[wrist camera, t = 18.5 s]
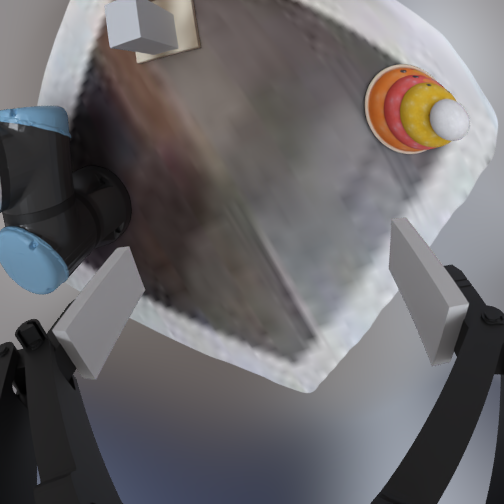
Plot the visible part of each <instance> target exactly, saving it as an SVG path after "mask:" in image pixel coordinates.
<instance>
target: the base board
mask: <svg viewBox="0 0 504 504" xmlns="http://www.w3.org/2000/svg"><path fill="white" fill-rule="evenodd" d="M148 1H150V2H152V3H154V4H156V5H158V6H159V7H161V8H163V9H165V10H166V11H168V12H170V13H172V14H173V15H174V22H175V28H176V35H177V41H178V47H179V48H178V49H174V50H171V51H167V52H163V53H160V54H156V55H151V54H146V53H140V52H136V58H137V63H145V62H148V61H151V60H155V59H158V58H162V57H166V56H169V55H173V54H177V53H181V52H185V51H189V50H194V49H198V48H201V46H200V39H199V33H198V27H197V21H196V15H195V9H194V2H193V0H148Z"/></svg>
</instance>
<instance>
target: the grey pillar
mask: <svg viewBox="0 0 504 504" xmlns="http://www.w3.org/2000/svg"><path fill="white" fill-rule="evenodd" d="M105 13H106V22H107V30H108V37H109V44H110V48H114V49H121V50H128V51H134V52H140V53H146V54H151V55H156V54H160V53H163V52H167V51H171V50H174V49H178V48H179V47H178V41H177V35H176V28H175V22H174V15H173V14H172V13H170V12H168V11H166V10H165V9H163V8H161V7H159V6H158V5H156V4H154V3H152V2H150V1H148V0H116V1H114V2H111V3H109V4H107V5H105Z"/></svg>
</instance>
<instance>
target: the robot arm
mask: <svg viewBox="0 0 504 504" xmlns="http://www.w3.org/2000/svg"><path fill="white" fill-rule="evenodd" d="M70 138H71V134H70V133H69V125H68V115H67V112H66V111H65V109H63V108H62V107H59V106H34V107H24V108H17V109H6V110H0V213H1V212H2V214H3V218H4V223H5V227H4V228H3V229H1V231H0V263H1V265H2V266H3V268H4V270H5V271H6V272H7V274H8V275H9V276H10V277H11V278H12V279H13V280H14V281H15V282H16V283H17V284H18V285H20V286H21V287H22V288H24V289H26V290H28V291H30V292H32V293H35V294H48V293H51V292H53V291H54V290H55V289H56V288H58V286H60V285H61V284H62V283H64V282H65V281H66V280H67V279H68V277H69V276H70V275H71V274H72V273H73V272H74V270H75V269H76V268H77V267H78V266H79V265H80V264H81V263H82V261H83V260H84V259H85V258H86V257H87V256H88V255H89V254H90V253H91V251H92V250H93V249H95V248H98V247H101V246H104V245H107V244H109V243H112V242H113V241H115V240H116V239H117V238H118V237H119V236H120V235H121V234H122V233H123V232H124V231H125V230H126V228H127V226H128V224H129V222H130V218H131V203H130V198H129V195H128V192H127V190H126V188H125V186H124V185H123V183H122V182H121V181H120V179H119V178H118V177H117V176H116V175H114V174H113V173H112V172H110V171H109V170H107V169H105V168H102V167H99V166H87V167H83V168H81V169H79V170H77V171H75V172H74V173H72V163H71V152H70ZM389 270H390V272H391V274H392V276H393V278H394V280H395V282H396V284H397V286H398V288H399V291H400V293H401V295H402V297H403V299H404V301H405V303H406V306H407V308H408V310H409V312H410V315H411V317H412V319H413V321H414V323H415V326H416V328H417V330H418V333H419V335H420V338H421V340H422V342H423V345H424V347H425V350H426V352H427V355H428V357H429V360H430V362H431V365H432V366H436V365H440V364H445V363H449V362H450V361H451V358H452V355H453V353H454V352H455V354H456V356H457V359H456V361H455V364H454V366H453V368H452V370H451V373H450V375H449V377H448V379H447V381H446V384H445V385H444V388H443V390H442V392H441V394H440V396H439V398H438V400H437V402H436V404H435V406H434V408H433V409H432V411H431V413H430V415H429V417H428V419H427V420H426V422H425V424H424V426H423V427H422V429H421V431H420V433H419V434H418V436H417V438H416V439H415V441H414V443H413V444H412V446H411V448H410V449H409V451H408V453H407V454H406V456H405V457H404V459H403V460H402V462H401V463H400V465H399V467H398V468H397V469H396V471H395V472H394V474H393V475H392V477H391V478H390V479H389V481H388V482H387V484H386V485H385V486H384V488H383V489H382V490H381V492H380V493H379V494H378V495H377V496H376V498H375V499H374V500H373V501H372V502H371V504H437V503H438V501H439V500H440V498H441V496H442V495H443V493H444V491H445V489H446V487H447V486H448V484H449V482H450V480H451V478H452V476H453V474H454V472H455V471H456V469H457V466H458V465H459V462H460V460H461V458H462V456H463V454H464V452H465V450H466V448H467V445H468V443H469V441H470V438H471V436H472V434H473V431H474V429H475V427H476V424H477V422H478V419H479V416H480V414H481V411H482V409H483V406H484V403H485V400H486V397H487V395H488V391H489V389H490V386H491V382H492V379H493V376H494V374H501V392H500V412H499V425H498V435H497V444H496V451H495V458H494V464H493V471H492V476H491V481H490V486H489V491H488V495H487V500H486V504H504V313H503V312H502V311H500V310H499V309H497V308H495V307H492V306H486V304H485V303H484V301H483V300H482V298H481V297H480V296H479V294H478V293H477V291H476V290H475V289H474V287H473V286H472V284H471V283H470V282H469V281H468V280H467V278H466V277H465V275H464V274H463V272H462V271H461V270H459V269H458V268H456V267H455V266H453V265H448V266H443V265H442V264H441V262H440V261H439V260H438V258H437V257H436V255H435V254H434V253H433V251H432V250H431V249H430V247H429V246H428V245H427V243H426V242H425V241H424V240H423V238H422V237H421V236H420V234H419V233H418V232H417V231H416V229H415V228H414V227H413V226H412V224H411V223H410V222H409V221H408V219H407V218H396V219H391V242H390V259H389ZM144 291H145V288H144V286H143V283H142V281H141V278H140V275H139V273H138V270H137V267H136V264H135V262H134V259H133V256H132V253H131V250H130V247H121V248H117V249H116V250H115V251H114V252H113V253H112V255H111V256H110V257H109V258H108V259H107V261H106V262H105V263H104V264H103V265H102V267H101V268H100V269H99V270H98V271H97V273H96V274H95V275H94V276H93V278H92V279H91V280H90V281H89V282H88V284H87V285H86V286H85V287H84V289H83V290H82V291H81V293H80V294H79V295H78V296H77V298H76V299H75V300H73V301H72V302H71V303H70V304H69V305H68V306H67V308H66V309H65V310H64V312H63V313H62V314H61V316H60V318H58V319H57V321H56V322H55V323H54V325H53V326H52V328H51V329H50V330H49V331H48V333H47V334H46V332H45V331H44V329H43V328H42V326H41V324H40V322H39V321H38V320H37V319H31V320H28V321H26V322H25V323H23V324H22V325H21V326H20V327H18V329H17V330H16V333H15V336H16V337H17V339H18V341H19V342H20V343H21V345H22V347H23V348H24V349H20V350H17V349H16V347H15V346H14V344H13V343H12V342H6V343H4V344H1V346H0V504H123V503H122V502H121V500H120V498H119V496H118V493H117V491H116V489H115V487H114V485H113V482H112V480H111V478H110V475H109V473H108V471H107V468H106V466H105V463H104V461H103V458H102V456H101V453H100V451H99V448H98V446H97V443H96V440H95V437H94V434H93V432H92V429H91V426H90V423H89V420H88V417H87V414H86V411H85V407H84V404H83V401H82V397H81V394H80V390H79V387H78V383H77V380H76V378H75V377H74V375H73V373H74V372H75V370H76V369H77V370H78V372H79V373H80V375H81V376H82V378H87V379H95V380H96V379H97V377H98V375H99V373H100V371H101V369H102V367H103V365H104V363H105V361H106V359H107V357H108V356H109V354H110V352H111V350H112V348H113V346H114V344H115V342H116V340H117V339H118V337H119V335H120V333H121V331H122V330H123V328H124V326H125V324H126V322H127V321H128V319H129V317H130V315H131V313H132V312H133V310H134V308H135V306H136V305H137V303H138V301H139V299H140V298H141V296H142V294H143V292H144ZM12 384H13V386H14V387H15V388H16V389H17V392H16V394H15V393H14V391H13V388H12ZM37 466H38V471H39V475H40V480H41V483H40V484H39V485H37Z"/></svg>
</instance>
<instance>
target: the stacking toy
mask: <svg viewBox="0 0 504 504" xmlns="http://www.w3.org/2000/svg"><path fill="white" fill-rule="evenodd" d="M365 114H366V118H367V122H368V124H369V126H370V128H371V130H372V132H373V133H374V135H375V136H376V137H377V139H378V140H379V141H380V142H381V143H383V144H384V145H385V146H387V147H388V148H390V149H392V150H394V151H396V152H399V153H404V154H416V153H421V152H423V151H426V150H428V149H433V148H436V147H441V146H444V145H446V144H448V143H450V142H451V141H456V140H459V139H462V138H463V137H464V136H465V135H466V134H467V133H468V131H469V128H470V118H469V115H468V113H467V111H466V109H465V108H464V107H463V106H462V105H461V104H460V103H458V102H457V101H456V100H455V98H454V97H453V95H452V94H451V93H450V92H449V91H447V90H446V89H445V88H444V87H443V86H442V85H441V84H439V83H438V82H437V81H436V80H435V79H434V78H433V77H432V76H431V75H430V74H429V73H427V72H426V71H424V70H422V69H420V68H418V67H415V66H412V65H406V64H400V65H394V66H390V67H388V68H386V69H384V70H382V71H381V72H379V73H378V74H377V75H376V76H375V77H374V78H373V80H372V81H371V83H370V85H369V87H368V89H367V92H366V96H365Z"/></svg>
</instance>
